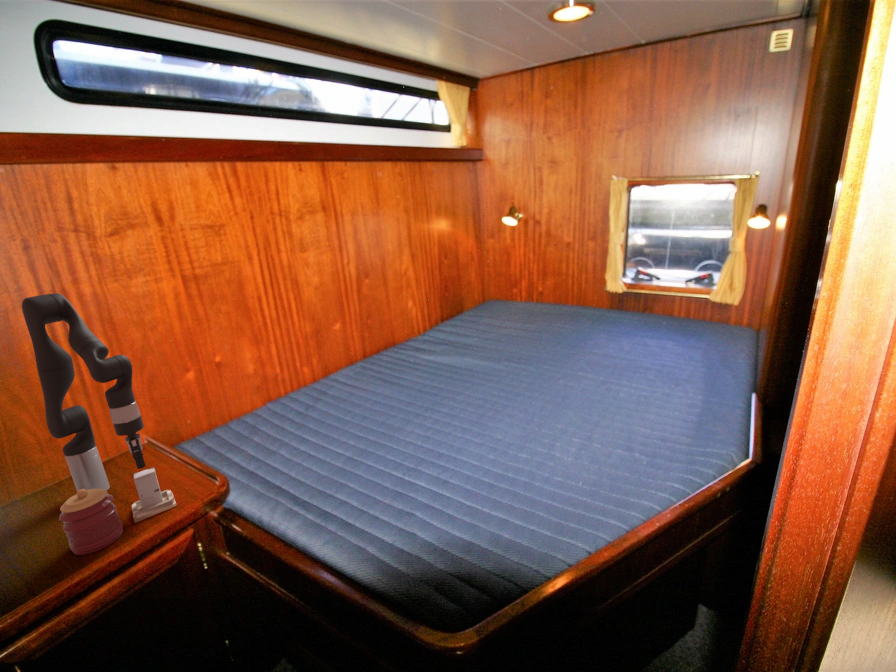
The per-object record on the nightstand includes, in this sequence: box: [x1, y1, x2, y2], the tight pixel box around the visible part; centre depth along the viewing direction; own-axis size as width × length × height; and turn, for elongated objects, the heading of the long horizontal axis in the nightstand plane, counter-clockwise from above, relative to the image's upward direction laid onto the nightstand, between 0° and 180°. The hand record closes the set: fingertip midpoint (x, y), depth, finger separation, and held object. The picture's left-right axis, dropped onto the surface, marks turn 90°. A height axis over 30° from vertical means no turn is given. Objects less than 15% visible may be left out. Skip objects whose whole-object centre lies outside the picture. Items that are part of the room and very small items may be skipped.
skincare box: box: [133, 467, 163, 510], centre depth 151 cm, size 6×4×12 cm
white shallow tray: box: [131, 489, 178, 524], centre depth 153 cm, size 10×12×2 cm
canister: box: [58, 489, 124, 556], centre depth 136 cm, size 13×13×18 cm
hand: (140, 463), depth 149 cm, fingers open, 8 cm apart
